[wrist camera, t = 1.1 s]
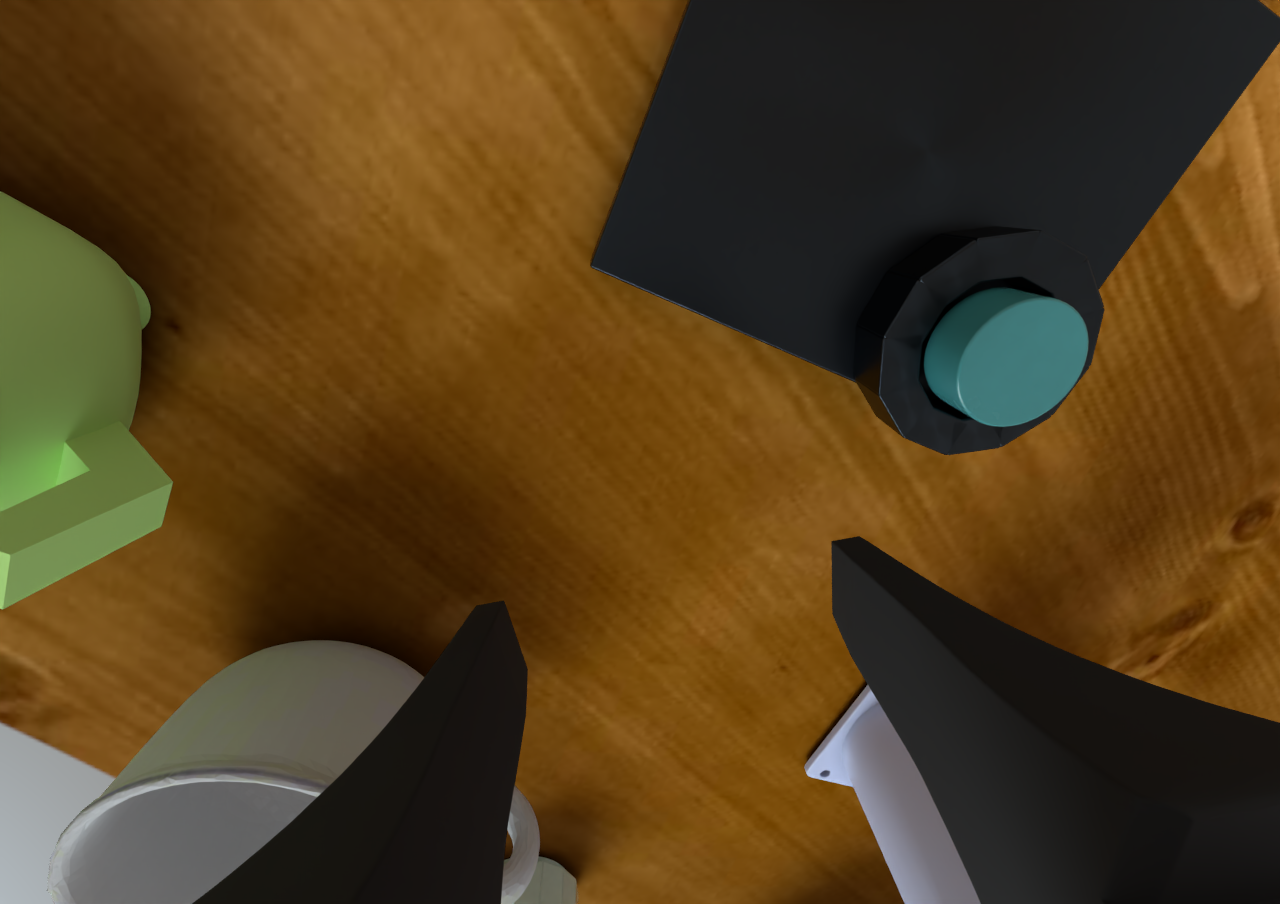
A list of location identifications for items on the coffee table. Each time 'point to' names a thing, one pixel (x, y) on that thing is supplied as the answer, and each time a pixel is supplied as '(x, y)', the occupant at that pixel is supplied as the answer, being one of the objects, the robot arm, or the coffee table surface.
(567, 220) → the coffee table surface
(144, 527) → the teapot
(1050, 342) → the button
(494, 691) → the robot arm
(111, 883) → the teacup
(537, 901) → the pale green handleless cup
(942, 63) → the scale
